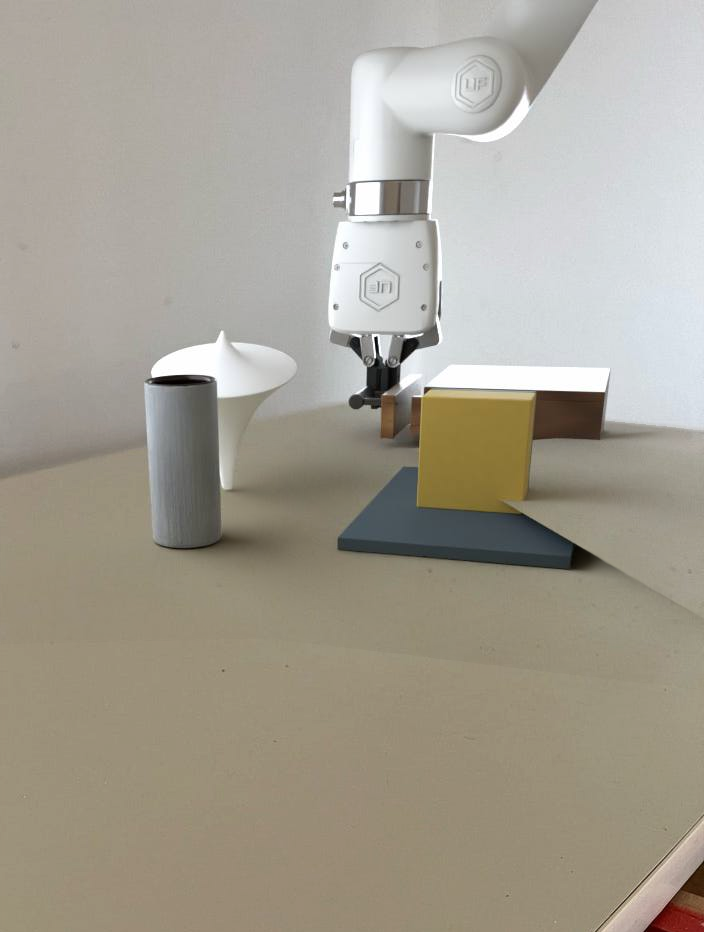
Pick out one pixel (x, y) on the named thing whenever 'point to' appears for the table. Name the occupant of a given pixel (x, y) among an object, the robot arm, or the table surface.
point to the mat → (451, 531)
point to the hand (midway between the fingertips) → (382, 406)
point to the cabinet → (543, 394)
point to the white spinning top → (232, 386)
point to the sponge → (475, 449)
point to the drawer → (394, 405)
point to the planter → (183, 459)
